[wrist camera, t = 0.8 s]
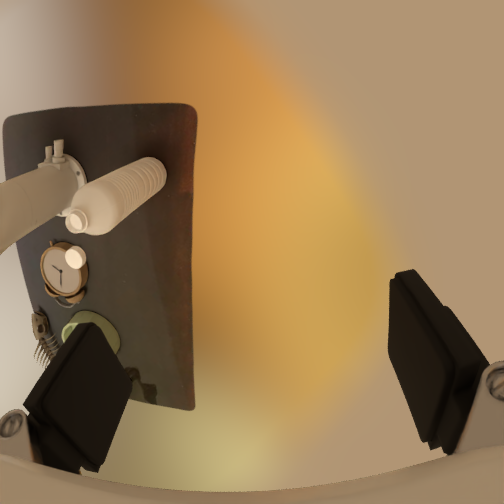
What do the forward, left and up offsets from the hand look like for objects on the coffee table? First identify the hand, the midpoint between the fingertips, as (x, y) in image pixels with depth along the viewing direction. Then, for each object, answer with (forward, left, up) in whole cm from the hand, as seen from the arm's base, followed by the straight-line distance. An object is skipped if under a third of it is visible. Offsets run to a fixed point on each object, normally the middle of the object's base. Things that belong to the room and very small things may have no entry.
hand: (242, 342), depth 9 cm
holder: (+45, -34, -45) cm, 72 cm away
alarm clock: (+29, -39, -45) cm, 66 cm away
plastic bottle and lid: (+7, -19, -45) cm, 50 cm away
